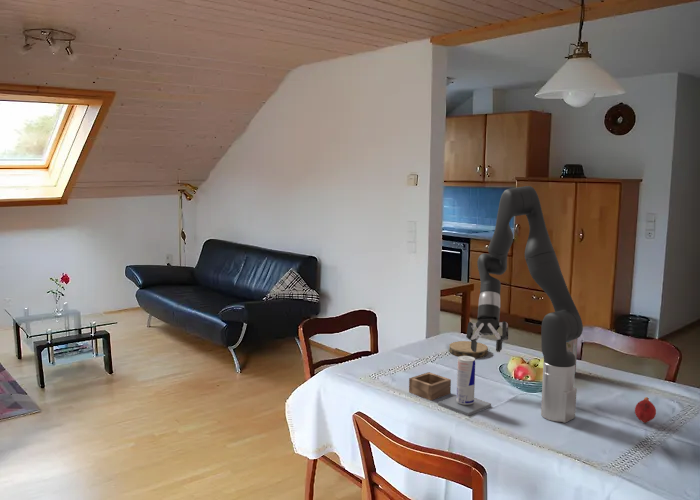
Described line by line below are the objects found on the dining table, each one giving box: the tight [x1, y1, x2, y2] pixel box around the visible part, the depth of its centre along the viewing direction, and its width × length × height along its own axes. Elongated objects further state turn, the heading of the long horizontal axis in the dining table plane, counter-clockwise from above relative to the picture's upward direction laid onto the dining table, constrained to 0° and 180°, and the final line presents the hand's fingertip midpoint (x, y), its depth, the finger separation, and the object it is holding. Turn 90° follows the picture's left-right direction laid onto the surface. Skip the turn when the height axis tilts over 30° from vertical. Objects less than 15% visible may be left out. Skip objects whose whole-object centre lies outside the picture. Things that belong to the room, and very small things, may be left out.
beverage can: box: [456, 356, 476, 405], centre depth 196 cm, size 6×6×15 cm
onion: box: [634, 397, 657, 424], centre depth 184 cm, size 6×6×8 cm
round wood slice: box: [448, 340, 489, 359], centre depth 255 cm, size 16×16×3 cm
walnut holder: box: [408, 372, 452, 401], centre depth 208 cm, size 10×10×5 cm
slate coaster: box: [438, 394, 492, 417], centre depth 197 cm, size 12×12×1 cm
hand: (485, 351), depth 208 cm, fingers open, 8 cm apart
